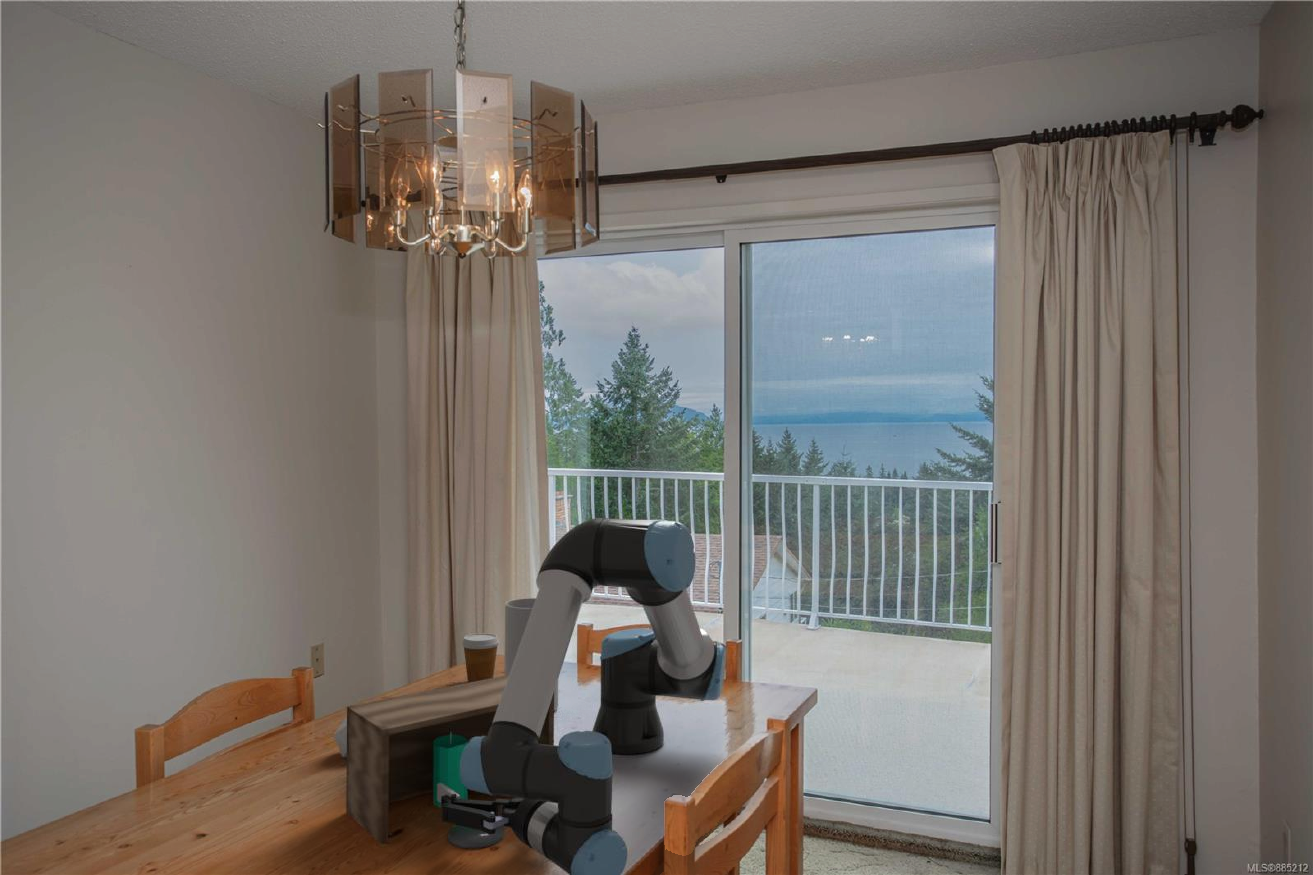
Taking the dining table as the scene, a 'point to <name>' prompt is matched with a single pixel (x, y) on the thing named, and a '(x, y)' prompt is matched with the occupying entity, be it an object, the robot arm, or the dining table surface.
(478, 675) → the disposable coffee cup
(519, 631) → the cylinder vase
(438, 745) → the candle
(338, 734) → the die
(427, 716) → the cubby
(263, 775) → the dining table surface
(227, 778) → the dining table surface
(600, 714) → the robot arm
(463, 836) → the coaster
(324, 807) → the dining table surface
